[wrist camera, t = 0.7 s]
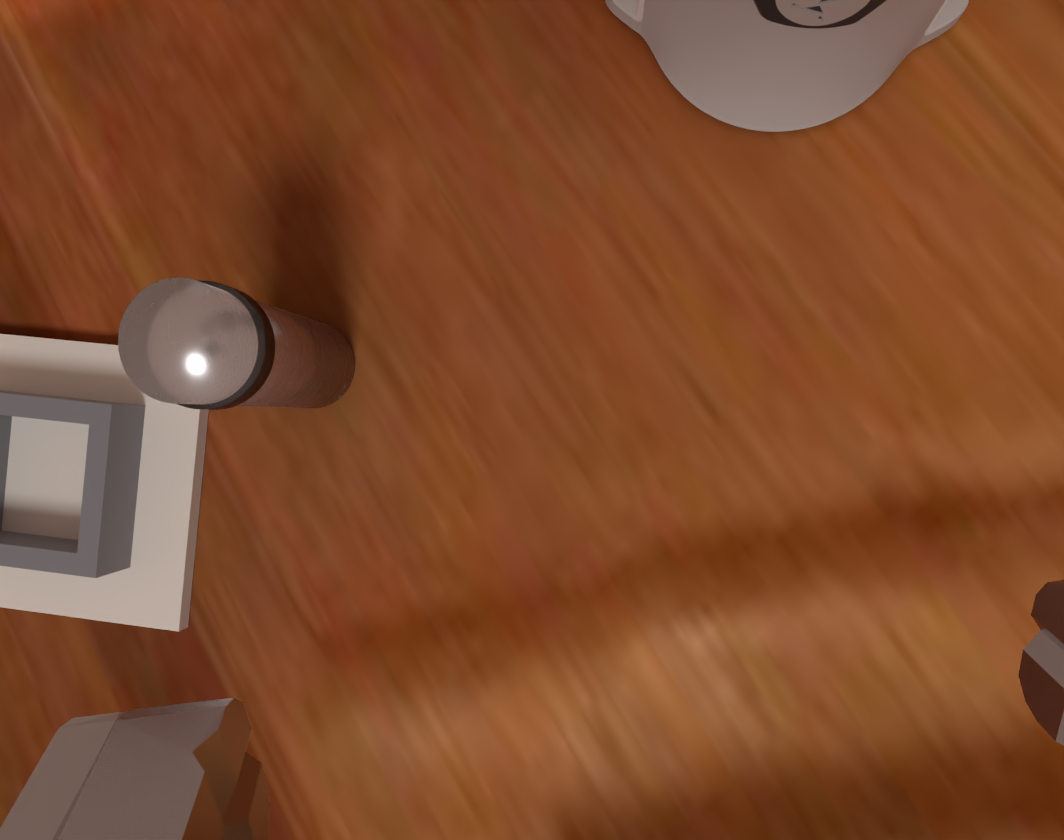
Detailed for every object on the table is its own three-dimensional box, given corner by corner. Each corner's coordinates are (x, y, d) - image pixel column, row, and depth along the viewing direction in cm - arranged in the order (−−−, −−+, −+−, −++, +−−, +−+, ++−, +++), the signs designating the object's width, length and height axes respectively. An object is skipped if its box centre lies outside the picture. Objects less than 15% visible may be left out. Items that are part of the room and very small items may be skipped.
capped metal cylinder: (272, 314, 45) (119, 267, 31) (362, 322, 44) (248, 278, 30) (263, 406, 45) (107, 401, 31) (353, 416, 44) (235, 415, 30)
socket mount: (-37, 330, 47) (-97, 322, 43) (214, 355, 45) (175, 349, 41) (-61, 592, 47) (-123, 609, 43) (188, 626, 45) (147, 646, 41)
